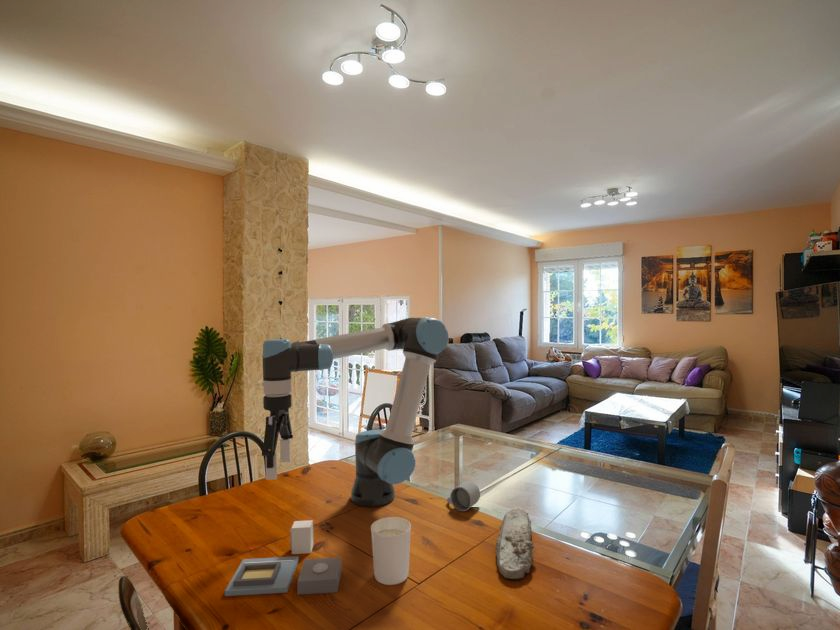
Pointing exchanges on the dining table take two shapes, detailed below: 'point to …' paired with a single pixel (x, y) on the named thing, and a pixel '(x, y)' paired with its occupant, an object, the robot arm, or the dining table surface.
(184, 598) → the dining table surface
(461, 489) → the ceramic mug
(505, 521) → the long grey stone
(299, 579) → the grey push button box
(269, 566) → the board
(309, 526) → the plug
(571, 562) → the dining table surface
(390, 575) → the candle holder
